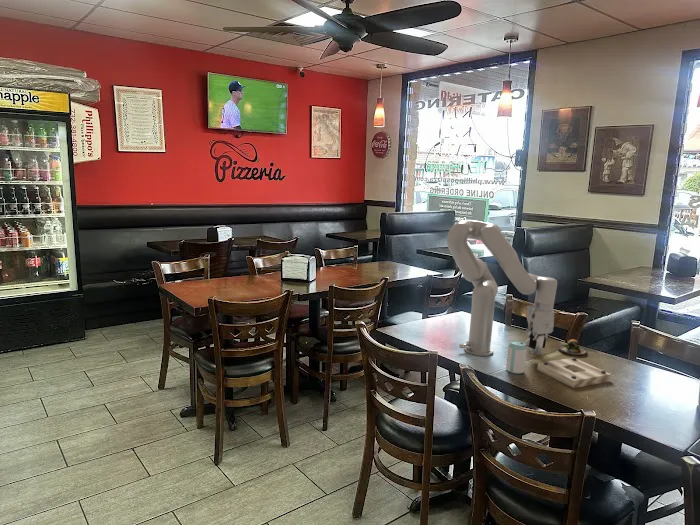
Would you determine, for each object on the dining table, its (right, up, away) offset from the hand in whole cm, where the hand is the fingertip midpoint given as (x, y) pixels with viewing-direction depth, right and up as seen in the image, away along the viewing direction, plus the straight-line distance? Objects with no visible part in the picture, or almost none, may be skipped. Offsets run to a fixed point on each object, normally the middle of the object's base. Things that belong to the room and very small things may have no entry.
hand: (536, 347), depth 207 cm
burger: (+22, -5, +15) cm, 27 cm away
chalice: (+5, -3, +22) cm, 23 cm away
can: (-13, -8, -11) cm, 18 cm away
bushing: (0, -2, 0) cm, 2 cm away
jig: (+10, -9, -12) cm, 18 cm away
